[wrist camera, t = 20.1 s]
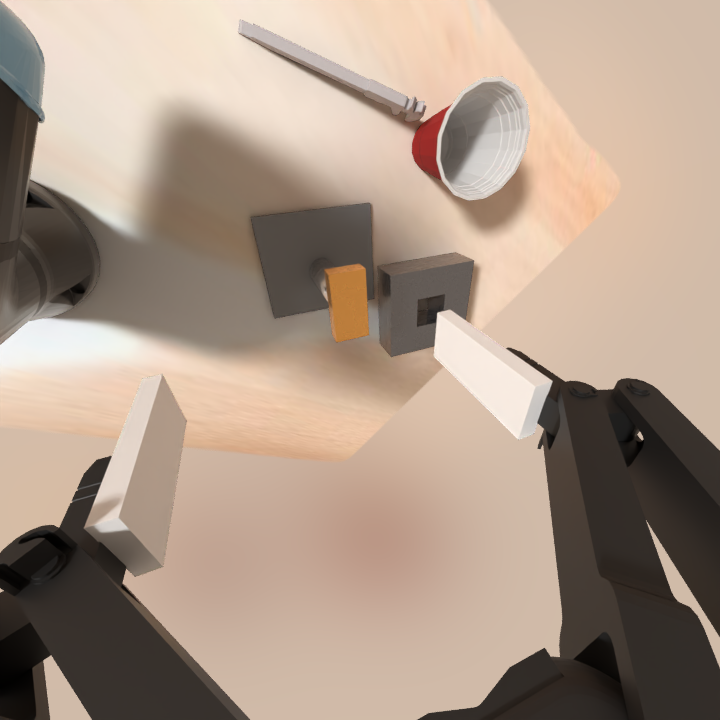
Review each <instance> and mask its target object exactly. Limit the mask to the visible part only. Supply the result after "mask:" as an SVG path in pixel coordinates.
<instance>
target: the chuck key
mask: <svg viewBox="0 0 720 720" xmlns="http://www.w3.org/2000/svg"><path fill="white" fill-rule="evenodd" d="M310 276H311V277H312V279H313V280H314V282H315V283H316V285H317V286H318V288H319V289H320V291H321V292H322V294H323V296H324V297H325V299H326V300H327V302H328V305H329V313H330V321H331V329H332V335H333V337H334V339H335V340H336V342H341V341H345V340H350V339H354V338H359V337H363V336H367V335H369V327H368V306H367V286H366V269H365V268H364V267H363V266H362V265H361V264H354V265H348V266H342V267H336V268H335V267H334V266H333V265H332V264H331V262H330V261H328V260H327V259H324V258H320V259H317V260H315V261H314V262H313V263H312V264H311V266H310Z"/></svg>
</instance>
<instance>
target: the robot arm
mask: <svg viewBox="0 0 720 720" xmlns="http://www.w3.org/2000/svg"><path fill="white" fill-rule="evenodd" d="M44 73H45V63H44V57H43V53H42V51H41V49H40V47H39V45H38V43H37V41H36V39H35V37H34V36H33V34H32V33H31V32H30V31H29V29H28V28H27V27H26V25H25V24H24V23H23V22H22V21H21V20H20V19H19V18H18V17H17V16H16V15H15V14H14V13H13V12H12V11H11V10H10V9H9V8H8V7H7V6H6V5H5V4H4V3H2V2H1V1H0V345H1V344H2V343H3V342H4V341H5V340H6V339H8V338H9V337H10V336H11V335H12V334H14V333H15V332H16V331H17V330H18V329H19V328H21V327H22V326H23V325H24V324H25V323H27V322H28V321H32V320H37V319H43V318H48V317H52V316H56V315H59V314H62V313H64V312H66V311H68V310H70V309H72V308H74V307H75V306H77V305H78V304H79V303H80V302H81V301H82V300H83V299H84V298H86V297H87V296H88V295H89V293H90V292H91V291H92V290H93V288H94V287H95V285H96V283H97V280H98V277H99V272H100V260H99V254H98V250H97V247H96V244H95V242H94V240H93V237H92V236H91V234H90V232H89V230H88V229H87V227H86V226H85V225H84V223H83V222H82V221H81V219H80V218H79V217H78V216H77V215H76V214H75V213H74V211H73V210H71V209H70V208H69V207H68V206H67V205H66V204H65V203H64V202H63V201H62V200H60V199H59V198H58V197H56V196H55V195H54V194H52V193H51V192H49V191H48V190H46V189H45V188H43V187H41V186H40V185H38V184H36V183H34V182H32V181H30V175H31V168H32V161H33V155H34V148H35V141H36V135H37V128H38V122H40V123H43V122H44V120H45V115H44V112H43V110H42V108H41V104H42V94H43V83H44ZM434 357H435V358H436V359H437V360H438V361H439V362H440V363H441V364H442V365H443V366H444V367H445V368H446V369H447V370H448V371H449V372H450V373H451V374H452V375H453V376H454V377H455V378H456V379H457V380H458V381H459V382H460V383H461V384H462V385H463V386H464V387H466V389H467V390H468V391H469V392H470V393H471V394H472V395H473V396H475V397H476V399H478V401H479V402H481V403H482V404H483V405H484V406H485V407H486V408H487V409H488V410H489V411H490V412H491V413H492V414H493V415H494V416H495V417H496V418H497V419H498V420H499V421H500V422H501V423H502V424H503V425H504V426H505V427H506V428H507V429H508V430H509V431H510V432H511V433H512V434H513V435H514V436H515V437H516V438H517V439H518V440H519V439H521V438H524V437H527V436H530V435H532V434H534V432H535V429H536V426H537V424H539V425H540V426H542V427H543V428H544V431H543V434H542V436H541V439H540V441H539V444H538V449H541V446H542V445H543V446H544V455H545V464H546V473H547V482H548V490H549V500H550V508H551V517H552V526H553V535H554V544H555V552H556V562H557V570H558V579H559V587H560V596H561V605H562V627H561V632H560V644H559V646H560V657H550V655H549V654H548V652H547V651H546V649H545V648H543V649H542V650H540V651H538V652H536V653H535V654H533V655H531V656H529V657H528V658H526V659H524V660H522V661H520V662H519V663H517V664H515V665H513V666H512V667H510V668H509V669H508V670H507V672H506V673H505V674H504V675H503V677H502V678H501V679H500V680H499V682H498V683H497V684H496V686H495V687H494V688H493V689H492V691H491V692H490V693H489V694H488V696H487V697H486V698H485V700H484V701H483V702H482V703H481V704H480V705H479V706H477V707H474V708H467V709H459V710H451V711H443V712H435V713H428V714H427V715H425V716H423V717H421V718H420V719H418V720H720V668H719V665H718V663H717V660H716V658H715V655H714V653H713V650H712V648H711V645H710V642H709V640H708V637H707V635H706V632H705V630H704V628H703V626H702V624H701V622H700V620H699V618H698V616H697V615H696V614H695V613H694V611H693V610H692V609H691V608H690V607H688V606H686V605H684V604H682V603H680V602H678V601H677V600H676V599H675V597H674V596H673V594H672V592H671V589H670V586H669V584H668V581H667V578H666V575H665V572H664V570H663V567H662V564H661V561H660V559H659V556H658V553H657V550H656V547H655V544H654V542H653V539H652V536H651V533H650V530H649V528H648V525H647V522H648V523H649V525H650V527H651V528H652V530H653V532H654V533H655V535H656V536H657V538H658V539H659V541H660V543H661V544H662V546H663V547H664V549H665V551H666V552H667V554H668V555H669V557H670V559H671V560H672V562H673V563H674V565H675V567H676V568H677V570H678V571H679V573H680V575H681V576H682V578H683V579H684V581H685V582H686V584H687V586H688V587H689V588H690V590H691V592H692V594H693V595H694V597H695V598H696V600H697V601H698V603H699V605H700V606H701V608H702V610H703V611H704V613H705V614H706V616H707V618H708V619H709V621H710V622H711V624H712V625H713V627H714V629H715V630H716V632H717V633H718V635H719V636H720V451H719V450H718V449H717V448H716V447H715V446H714V445H713V444H712V443H711V442H710V441H709V440H708V439H707V438H706V437H705V436H704V435H703V434H702V433H701V432H700V431H699V430H698V429H697V428H696V427H695V426H694V425H693V424H692V423H691V422H690V421H689V420H688V419H687V418H686V417H685V416H684V415H683V414H682V413H681V412H680V411H679V410H678V409H677V408H676V407H675V406H674V405H673V404H672V403H671V402H670V401H669V400H668V399H667V398H666V397H665V396H664V395H663V394H662V393H661V392H660V391H659V390H658V389H657V388H655V387H654V386H652V385H650V384H648V383H646V382H644V381H640V380H638V379H630V378H626V379H621V380H619V381H618V382H617V384H616V386H615V388H614V389H612V390H597V389H595V388H594V387H592V386H591V385H588V384H586V383H583V382H578V381H567V382H565V381H563V380H562V379H560V378H559V377H557V376H556V375H554V374H553V373H551V372H550V371H548V370H547V369H546V368H544V367H543V366H541V365H538V364H537V362H535V361H534V360H532V359H530V358H529V357H528V356H526V355H525V354H523V353H522V352H520V351H517V350H515V349H512V348H504V347H503V346H502V345H500V344H499V343H497V342H495V341H494V340H493V339H491V338H490V337H489V336H487V335H486V334H484V333H483V332H481V331H480V330H479V329H477V328H476V327H474V326H473V325H471V324H470V323H469V322H467V321H466V320H464V319H463V318H461V317H460V316H459V315H457V314H456V313H454V312H453V311H451V310H447V311H442V312H438V313H437V324H436V336H435V347H434ZM186 422H187V420H186V419H185V417H184V415H183V413H182V411H181V409H180V407H179V405H178V403H177V401H176V399H175V397H174V395H173V393H172V391H171V390H170V388H169V386H168V384H167V382H166V380H165V378H164V376H163V374H160V375H156V376H151V377H147V378H142V381H141V383H140V386H139V388H138V391H137V393H136V396H135V399H134V401H133V404H132V406H131V409H130V411H129V414H128V416H127V419H126V422H125V424H124V427H123V429H122V432H121V434H120V437H119V440H118V442H117V445H116V447H115V450H114V452H113V455H112V456H109V457H105V458H102V459H98V460H96V461H95V462H94V463H93V464H92V466H91V467H90V468H89V469H88V470H87V471H86V472H85V473H84V475H83V477H82V479H81V482H80V484H79V486H78V488H77V489H78V491H76V492H75V495H74V497H73V499H72V501H73V502H72V503H70V506H69V508H68V510H67V513H66V514H65V517H64V519H63V521H62V523H61V525H60V527H59V528H58V527H56V526H54V525H46V526H41V527H38V528H36V529H33V530H30V531H28V532H26V533H25V534H23V535H21V536H20V537H18V538H16V539H15V540H14V541H13V542H12V543H10V544H9V545H8V546H7V547H6V548H4V549H3V550H2V551H1V553H0V588H1V589H2V590H4V591H3V592H1V593H0V720H50V715H49V706H48V698H47V689H46V681H45V673H44V664H43V660H44V659H46V658H47V657H49V656H50V655H52V657H53V658H54V660H55V662H56V663H57V665H58V666H59V668H60V670H61V671H62V673H63V674H64V676H65V678H66V679H67V681H68V682H69V684H70V685H71V687H72V689H73V690H74V692H75V693H76V695H77V696H78V698H79V700H80V701H81V703H82V704H83V706H84V708H85V709H86V711H87V712H88V714H89V715H90V717H91V718H92V720H250V719H249V718H248V717H247V716H246V715H245V714H244V713H243V712H242V710H241V709H240V708H239V707H238V706H237V705H236V704H235V703H234V702H233V701H232V700H231V699H230V697H229V696H228V695H227V694H226V693H225V692H224V691H223V690H222V689H221V688H220V687H219V686H218V685H217V684H216V682H215V681H214V680H213V679H212V678H211V677H210V676H209V675H208V674H207V673H206V672H205V671H204V670H203V668H202V667H201V666H200V665H199V664H198V663H197V662H196V661H195V660H194V659H193V658H192V657H191V656H190V655H189V654H188V652H187V651H186V650H185V649H184V648H183V647H182V646H181V645H180V644H179V643H178V642H177V641H176V639H175V638H174V637H173V636H172V635H171V634H170V633H169V632H168V631H167V630H166V629H165V628H164V627H163V626H162V624H161V623H160V622H159V621H158V620H157V619H156V618H155V617H154V616H153V615H152V614H151V613H150V612H149V610H148V609H147V608H146V607H145V606H144V605H143V604H142V603H141V602H140V601H139V600H138V599H137V598H136V597H135V595H134V594H132V592H131V591H130V590H129V589H128V588H127V587H126V586H125V585H124V584H123V583H122V582H123V578H124V574H125V570H126V569H127V570H128V571H130V572H131V573H132V574H133V575H134V576H135V577H136V576H139V575H141V574H145V573H147V572H150V571H153V570H156V569H158V568H161V567H163V565H164V559H165V553H166V546H167V541H168V534H169V528H170V522H171V515H172V509H173V503H174V497H175V491H176V484H177V478H178V472H179V466H180V460H181V453H182V447H183V441H184V435H185V428H186ZM639 431H640V432H641V434H642V435H643V438H644V440H643V441H642V440H641V439H640V438H639V437H638V435H637V434H638V433H639ZM646 520H647V522H646Z"/></svg>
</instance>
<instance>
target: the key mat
mask: <svg viewBox="0 0 720 720" xmlns="http://www.w3.org/2000/svg"><path fill="white" fill-rule="evenodd" d="M251 221H252V225H253V229H254V234H255V238H256V242H257V246H258V250H259V255H260V259H261V263H262V267H263V271H264V276H265V280H266V284H267V288H268V292H269V297H270V301H271V305H272V309H273V313H274V318H280V317H285V316H290V315H295V314H300V313H305V312H310V311H315V310H320V309H325V308H329V305H328V302H327V300H326V299H325V297H324V296H323V294H322V292H321V291H320V289H319V288H318V286H317V285H316V283H315V282H314V280H313V279H312V277H311V276H310V266H311V264H312V263H313V262H314V261H315V260H317V259H320V258H324V259H327V260H328V261H330V262H331V264H332V265H333V266H334V267H335V268H336V267H342V266H348V265H354V264H361V265H362V266H363V267H364V268H365V269H366V286H367V300H370V299H374V286H373V260H372V234H371V209H370V203H364V204H356V205H348V206H340V207H332V208H323V209H315V210H307V211H299V212H290V213H282V214H274V215H266V216H257V217H251Z"/></svg>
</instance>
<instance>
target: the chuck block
mask: <svg viewBox="0 0 720 720" xmlns="http://www.w3.org/2000/svg"><path fill="white" fill-rule="evenodd" d="M473 265H474V260H472V259H470V258H467V257H465V256H463V255H460V254H458V253H450V254H444V255H438V256H433V257H427V258H421V259H415V260H410V261H404V262H398V263H392V264H387V265H381V266H377V269H378V301H379V334H380V344H381V345H382V346H383V348H384V349H385V350H386V351H387V353H388V354H389V355H390V356H391V357H393V356H397V355H401V354H405V353H409V352H413V351H417V350H421V349H425V348H429V347H433V346H435V336H436V324H437V313H438V312H442V311H447V310H451V311H453V312H454V313H456V314H457V315H459V316H460V317H461V318H463V319H464V320H466V314H467V307H468V300H469V293H470V286H471V279H472V272H473ZM424 298H428V310H423V311H419V312H417V310H418V300H419V299H424Z"/></svg>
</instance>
